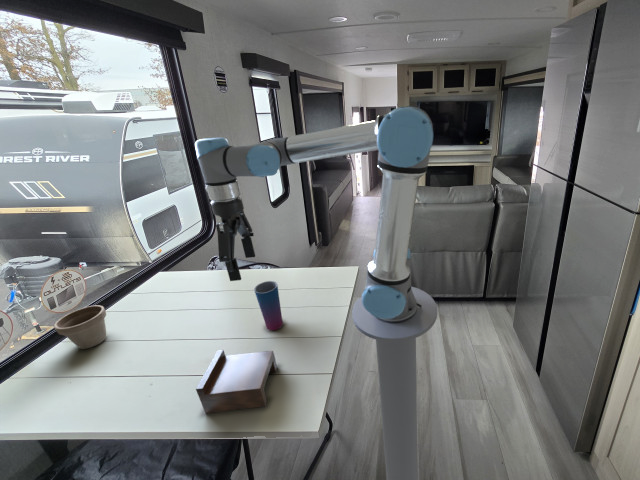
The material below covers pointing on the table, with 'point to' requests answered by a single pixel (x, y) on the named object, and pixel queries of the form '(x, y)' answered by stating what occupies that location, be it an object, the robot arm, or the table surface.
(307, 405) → the table surface
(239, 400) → the brown stepped block
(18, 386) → the table surface
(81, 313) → the flower pot
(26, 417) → the table surface
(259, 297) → the cup
